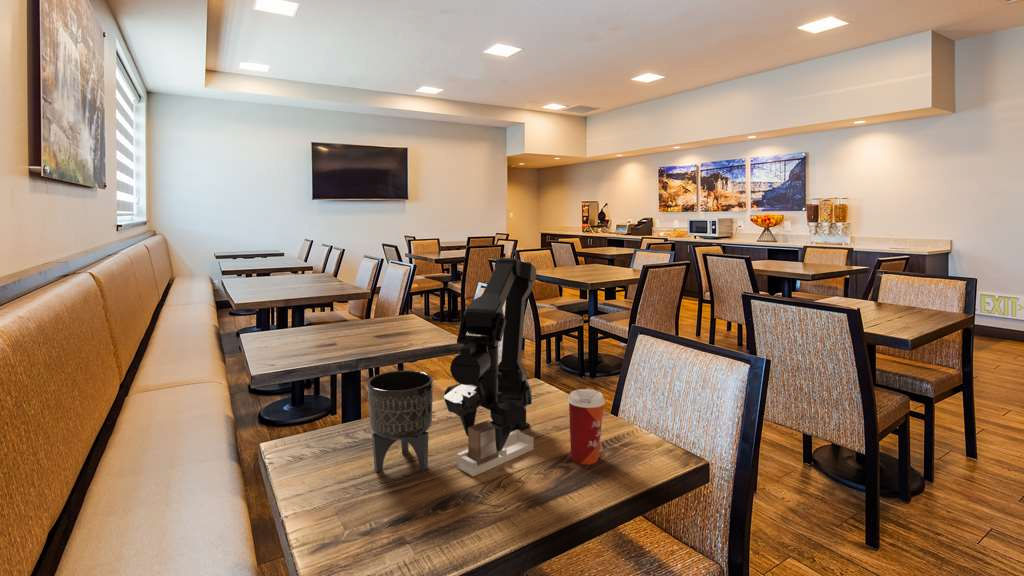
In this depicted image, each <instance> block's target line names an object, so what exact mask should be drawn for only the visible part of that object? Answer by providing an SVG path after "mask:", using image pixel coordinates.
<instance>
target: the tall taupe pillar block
mask: <svg viewBox="0 0 1024 576" xmlns="http://www.w3.org/2000/svg"><path fill="white" fill-rule="evenodd" d="M491 421H492V420H490V419H487V420H484V421H482V422H479V423H476V424H474V425H473V426H470V427H468V436H467V438H468V439H467V440H468V441H467V443H468V444H467V446H468V447H467V449H468V457H469V458H471V459H472V460H474V461H476V462H477V465H480V464H483V463H485V462H487V461H489V460H492V459H494V458H496V457H499V451H497V449H496V439H495V427H494V426H493V425H492V424H491V423H490V422H491Z"/></svg>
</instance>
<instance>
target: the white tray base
mask: <svg viewBox="0 0 1024 576" xmlns="http://www.w3.org/2000/svg"><path fill="white" fill-rule="evenodd" d="M534 443H535V442H534V437H532V436H531V435H529V434H526V433H525V432H524V433H523V432H521V430H518V429H517V430H514V431H512V432H510V434H509V436H508V438H507V440H506V442H505V444H504V447H503V449H502V450H501V451H499V457H496V458H494V459H492V460H489V461H487V462H485V463H483V464H480V465H477V462H476V461H474V460H472V459H471V458H469V457H468V448H466V449H465V450H463V451H460V452H457V453H456V468H457V469H459V470H461V471H463V472H464V473H466V474H468V475H469V476H471V477H475V476H478V475H480V474H482V473H484V472H486V471H489V470H491V469H492V468H495V467H498V466H500V465H502V464H504V463H507V462H509V461H512V460H513V459H515V458H518V457H520V456H522V455H525V454H526V453H528V452H531V451H533V450H534Z"/></svg>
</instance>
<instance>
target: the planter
mask: <svg viewBox="0 0 1024 576" xmlns="http://www.w3.org/2000/svg"><path fill="white" fill-rule="evenodd" d="M366 389H367V400H368V401H367V403H368V412H369V413H368V414H369V415H368V416H369V423H370V424H369V425H370V430H371V431H372V432H373V433H371V441H372V452H373V464H374V471H375V472H376V473H380V472H383V470H384V469H383V468H384V461H385V459H386V454H387V452H388V450H389V449H390V448H391V447H392V445H393V444H395V442H397V441H400V443H401V454H409V450H410V449H409V448H410V446H411V447H412V449H413V450H414V452H415V455H416V458H417V462H418V469H419V471H422V472H423V471H424V472H425V471H426V470H427V469H428V467H429V460H428V459H429V432H428V430H429V429H430V427H431V426H432V422H433V398H434V397H433V396H434V395H433V393H434V379H433V377H432V375H430V374H428V373H426V372H423V371H418V370H393V371H392V370H391V371H387V372H382V373H378V374H376V375H373V376H372V377H370V378H369V379H368V380H367V382H366ZM409 445H410V446H409Z"/></svg>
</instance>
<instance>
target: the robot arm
mask: <svg viewBox="0 0 1024 576" xmlns="http://www.w3.org/2000/svg"><path fill="white" fill-rule="evenodd" d="M536 279H537V268H536V266H535V265H533V264H532V262H531V261H521V260H520V259H517V258H515V257H499V258H496V260H495V264H494V269H493V271H492V273H491V275H490V278H489V280H488V282H487V283H486V285H485V288H484V290H483V292H482V294H481V295H480V296H478V297H477V298H474V299H473V300H471V301H470V303H469V304H468V306H467V307H466V309H465V311H463V314H462V317H461V321H460V326H459V331H458V335H457V338H456V344H458V345H459V344H460V345H463V346H461V347H460V349H459V351H460V353H459V354H457V355H456V356H455V357H454V358H453V359H452V361H451V364H450V369H449V370H450V373H451V376H452V377H453V379H454V380H455V381H456V382H457V383H458V384H454V385H450V386H448V387H447V388H446V389H445V391H444V396H443V399H444V402H445V405H446V409H447V410H448V412H449V413H453V414H454V415H456V416H458V417H459V419H460V421H461V424H462V427H463V430H464V431H465V435H466V437H468V427H470V426H473V425H475V421H476V415H477V409H478V408H479V407H481V408H484V409H487V410H488V411H490V419H491V420H490V421H491V422H490V423H491V424H492V425H493V426H494V427H495V439H496V449H497V451H501V450H502V449H503V447H504V444H505V442H506V440H507V438H508V436H509V434H510V432H512V431H514V430H517V429H518V430H520V431H522V430H524V429H526V428H530V426H531V424H530V423H528V422H527V407H528V406H529V405H532V404H533V403H532V401H533V399H532V397H533V395H532V392H533V391H532V388H531V386H530V384H529V381H528V379H527V378H528V373H527V371H526V368H525V366H524V365H523V363H522V353H523V352H522V351H523V339H524V338H523V337H524V336H523V335H524V324H525V323H524V321H525V310H526V309H525V308H526V299H528V297H529V295H530V294H531V293H532V292H533V289H534V283H536ZM504 305H505V306H504ZM503 308H505V309H503ZM500 342H502V345H501V347H502V349H501V360H500V362H499V343H500Z"/></svg>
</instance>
